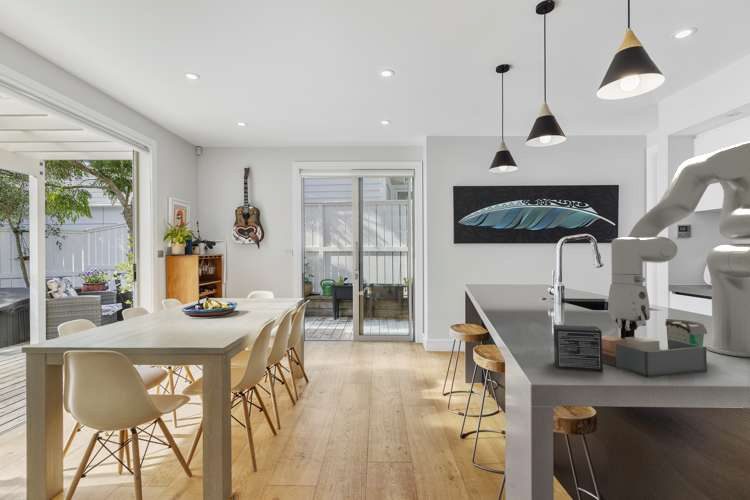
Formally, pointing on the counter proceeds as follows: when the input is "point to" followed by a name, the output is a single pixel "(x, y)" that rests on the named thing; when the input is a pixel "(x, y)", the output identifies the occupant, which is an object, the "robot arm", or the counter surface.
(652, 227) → the robot arm
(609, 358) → the walnut board
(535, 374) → the counter surface
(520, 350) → the counter surface
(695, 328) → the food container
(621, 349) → the tray
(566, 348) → the small box
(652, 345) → the cream tile
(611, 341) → the terracotta tile
